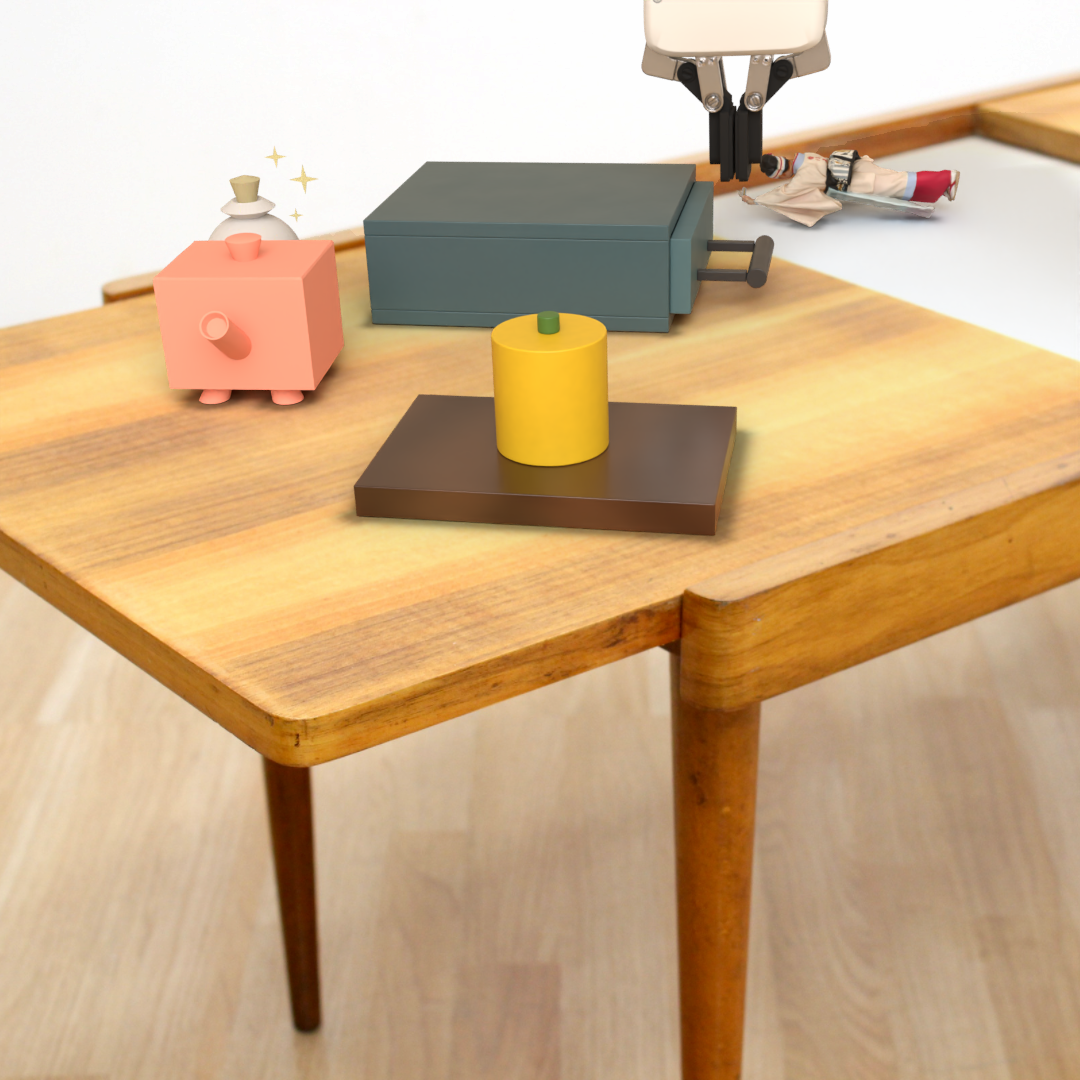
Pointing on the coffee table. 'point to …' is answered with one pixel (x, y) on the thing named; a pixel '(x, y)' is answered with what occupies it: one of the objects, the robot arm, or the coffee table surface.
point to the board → (554, 470)
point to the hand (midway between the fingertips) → (736, 175)
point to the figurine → (847, 185)
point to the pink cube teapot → (250, 316)
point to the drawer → (708, 252)
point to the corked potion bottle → (254, 210)
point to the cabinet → (527, 243)
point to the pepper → (550, 388)
